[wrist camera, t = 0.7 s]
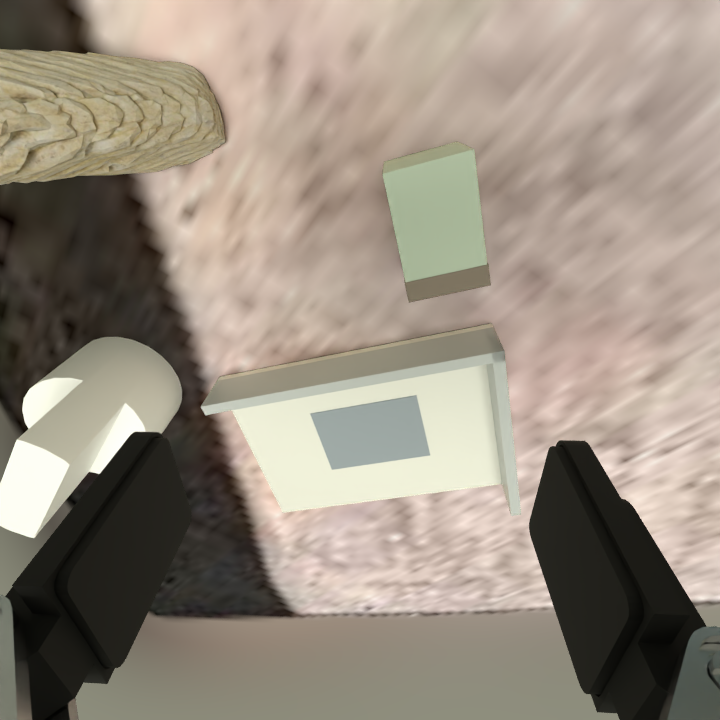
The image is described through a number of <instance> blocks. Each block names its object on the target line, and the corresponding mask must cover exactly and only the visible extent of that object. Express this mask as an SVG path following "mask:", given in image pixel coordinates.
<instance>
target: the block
mask: <svg viewBox="0 0 720 720" xmlns="http://www.w3.org/2000/svg"><path fill="white" fill-rule="evenodd" d="M382 174H383V179H384V184H385V188H386V193H387V198H388V203H389V207H390V212H391V217H392V221H393V226H394V231H395V235H396V240H397V245H398V249H399V254H400V259H401V264H402V268H403V273H404V281H405V287H406V291H407V296H408V301H409V302H414V301H418V300H423V299H428V298H433V297H437V296H442V295H447V294H451V293H456V292H461V291H466V290H470V289H475V288H480V287H484V286H489V285H491V283H490V274H489V265H488V263H487V257H486V249H485V240H484V231H483V222H482V213H481V205H480V196H479V187H478V178H477V170H476V161H475V152H474V149H473V148H470V147H468V146H466V145H464V144H461V143H459V142H454V143H450V144H447V145H443V146H440V147H436V148H432V149H429V150H425V151H421V152H418V153H414V154H410V155H407V156H403V157H399V158H396V159H392V160H388V161H385V162H384V165H383V173H382Z"/></svg>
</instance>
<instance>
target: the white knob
mask: <svg viewBox="0 0 720 720" xmlns="http://www.w3.org/2000/svg"><path fill="white" fill-rule="evenodd" d="M181 401H182V388H181V385H180V381H179V378H178V376H177V375H176V373H175V371H174V370H173V368H172V366H171V365H170V364H169V363H168V362H167V361H166V360H165V359H164V358H163V357H162V356H161V355H160V354H158V353H157V352H155V351H154V350H152V349H151V348H150V347H148V346H146V345H143V344H141V343H139V342H137V341H135V340H131V339H126V338H122V337H103V338H100V339H96V340H93V341H91V342H90V343H88V344H87V345H85V346H84V347H83V348H81V349H80V350H79V351H77V352H76V353H75V354H74V355H72V356H71V357H70V358H68V359H67V360H66V361H65V362H63V363H62V364H61V365H60V366H58V367H57V368H56V369H54V370H53V371H52V372H51V373H49V374H48V375H47V376H45V377H44V378H43V379H42V380H40V381H39V382H38V383H37V384H35V385H34V386H33V387H31V388H30V389H29V391H28V393H27V394H26V396H25V397H24V401H23V408H22V411H23V415H24V420H25V423H26V425H27V427H28V430H27V431H26V432H25V433H24V434H23V435H22V436H20V437H19V438H18V439H17V441H16V443H15V446H14V448H13V451H12V454H11V457H10V459H9V462H8V465H7V467H6V470H5V473H4V475H3V478H2V481H1V483H0V526H2V527H4V528H6V529H8V530H10V531H13V532H16V533H19V534H22V535H25V536H28V537H32V538H35V536H36V535H37V534H38V533H39V531H40V530H41V529H42V528H43V527H44V525H45V524H46V523H47V522H48V521H49V519H50V518H51V517H52V516H53V515H54V513H55V512H56V511H57V510H58V508H59V507H60V506H61V505H62V504H63V503H64V501H65V500H66V499H67V498H68V496H69V495H70V494H71V493H72V492H73V490H74V489H75V488H76V487H77V486H78V484H79V483H80V482H81V481H82V480H83V478H84V477H85V476H86V475H87V473H88V472H94V473H99V474H100V473H101V472H102V470H103V469H104V468H105V467H106V465H107V464H108V463H109V462H110V460H111V459H112V458H113V456H114V455H115V454H116V453H117V451H118V450H119V449H120V448H121V446H122V445H123V444H124V442H125V441H126V440H127V439H128V437H129V436H130V435H131V434H132V433H134V432H159V433H160V434H162V432H163V431H164V429H165V428H166V427H167V425H168V424H169V422H170V421H171V419H172V418H173V417H174V415H175V414H176V412H177V411H178V409H179V406H180V404H181Z"/></svg>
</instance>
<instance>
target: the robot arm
mask: <svg viewBox="0 0 720 720" xmlns="http://www.w3.org/2000/svg"><path fill="white" fill-rule="evenodd" d="M190 522H191V508H190V505H189V502H188V499H187V496H186V493H185V490H184V487H183V484H182V480H181V477H180V474H179V471H178V468H177V465H176V462H175V459H174V456H173V453H172V450H171V446H170V443H169V441H168V439H166V438H163V437H162V435H161V434H160V433H159V432H134V433H132V434H131V435H130V436H129V437H128V439H127V440H126V441H125V442H124V444H123V445H122V446H121V448H120V449H119V450H118V451H117V453H116V454H115V455H114V456H113V458H112V459H111V460H110V462H109V463H108V464H107V465H106V467H105V468H104V469H103V470H102V472H101V473H100V474H99V476H98V477H97V478H96V479H95V481H94V482H93V483H92V484H91V486H90V487H89V488H88V490H87V491H86V492H85V493H84V495H83V496H82V497H81V498H80V500H79V501H78V502H77V503H76V505H75V506H74V507H73V509H72V510H71V511H70V513H69V514H68V515H67V516H66V518H65V519H64V520H63V521H62V523H61V524H60V525H59V526H58V528H57V529H56V530H55V532H54V533H53V534H52V535H51V537H50V538H49V539H48V540H47V542H46V543H45V544H44V546H43V547H42V548H41V549H40V551H39V552H38V553H37V554H36V556H35V557H34V558H33V559H32V561H31V562H30V563H29V564H28V566H27V567H26V568H25V570H24V571H23V572H22V573H21V575H20V576H19V577H18V578H17V580H16V581H15V582H14V584H13V585H12V586H13V587H12V588H11V590H10V591H9V592H8V594H7V595H6V596H3V595H0V720H79V719H78V712H77V706H76V699H75V697H76V695H77V693H78V691H79V689H80V688H81V686H82V684H83V682H85V683H102V684H107V683H108V681H109V679H110V677H111V675H112V673H113V671H114V669H115V668H118V667H120V666H121V665H122V664H123V662H124V661H125V659H126V657H127V655H128V653H129V651H130V649H131V646H132V645H133V643H134V640H135V638H136V636H137V634H138V632H139V630H140V628H141V626H142V624H143V622H144V619H145V617H146V615H147V613H148V611H149V609H150V607H151V605H152V603H153V601H154V598H155V596H156V594H157V592H158V590H159V588H160V586H161V584H162V582H163V580H164V577H165V575H166V573H167V571H168V569H169V567H170V565H171V563H172V561H173V559H174V556H175V554H176V552H177V550H178V548H179V546H180V544H181V542H182V540H183V538H184V535H185V533H186V531H187V529H188V527H189V525H190ZM529 530H530V536H531V539H532V542H533V545H534V548H535V551H536V554H537V557H538V560H539V563H540V566H541V569H542V572H543V575H544V578H545V581H546V584H547V587H548V590H549V593H550V596H551V599H552V602H553V605H554V609H555V612H556V615H557V617H558V620H559V624H560V626H561V630H562V632H563V636H564V639H565V642H566V645H567V648H568V651H569V654H570V656H571V660H572V663H573V666H574V669H575V672H576V675H577V678H578V681H579V683H580V686H581V688H582V690H583V691H584V692H585V693H586V694H591V696H592V698H593V701H594V704H595V707H596V710H597V712H604V713H617V714H618V716H619V719H620V720H720V627H717V626H713V627H707V626H706V625H705V623H704V621H703V620H702V618H701V616H700V615H699V613H698V612H697V610H696V608H695V607H694V605H693V603H692V602H691V600H690V598H689V597H688V595H687V594H686V592H685V590H684V589H683V587H682V585H681V584H680V582H679V581H678V579H677V577H676V576H675V574H674V572H673V571H672V569H671V567H670V566H669V564H668V563H667V561H666V559H665V558H664V556H663V554H662V553H661V551H660V550H659V548H658V546H657V545H656V543H655V541H654V540H653V538H652V536H651V535H650V533H649V532H648V530H647V528H646V527H645V525H644V523H643V522H642V520H641V519H640V517H639V515H638V514H637V512H636V510H635V509H634V508H633V506H632V505H631V504H630V503H629V502H628V501H626V500H625V499H621V498H620V496H619V494H618V492H617V491H616V489H615V487H614V486H613V484H612V482H611V481H610V479H609V477H608V476H607V474H606V472H605V471H604V469H603V467H602V466H601V464H600V462H599V461H598V459H597V457H596V455H595V454H594V452H593V450H592V449H591V447H590V445H589V444H588V443H587V442H585V441H563V440H561V441H559V442H558V443H557V445H556V447H555V446H552V447H550V448H549V451H548V454H547V458H546V462H545V465H544V469H543V473H542V477H541V480H540V484H539V488H538V492H537V495H536V499H535V503H534V507H533V510H532V514H531V518H530V523H529Z"/></svg>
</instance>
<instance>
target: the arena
mask: <svg viewBox="0 0 720 720" xmlns="http://www.w3.org/2000/svg"><path fill="white" fill-rule="evenodd" d="M201 408H202V410H203V412H204V414H205V415H209V414H214V413H220V412H225V411H231V410H232V412H233V414H234V416H235V418H236V420H237V422H238V424H239V426H240V428H241V430H242V432H243V434H244V436H245V438H246V440H247V442H248V444H249V446H250V448H251V450H252V452H253V454H254V456H255V458H256V460H257V462H258V464H259V466H260V468H261V470H262V472H263V474H264V476H265V478H266V480H267V482H268V484H269V486H270V488H271V490H272V492H273V494H274V496H275V498H276V500H277V502H278V504H279V506H280V508H281V510H282V512H283V513H284V512H292V511H300V510H307V509H315V508H322V507H330V506H338V505H345V504H353V503H361V502H368V501H376V500H384V499H391V498H399V497H406V496H414V495H422V494H429V493H437V492H445V491H452V490H460V489H467V488H475V487H483V486H490V485H498V484H502V486H503V490H504V493H505V496H506V500H507V503H508V506H509V510H510V513H511V516H513V515H521V508H520V498H519V489H518V479H517V469H516V460H515V450H514V440H513V430H512V421H511V411H510V401H509V392H508V382H507V372H506V362H505V353H504V349H503V347H502V345H501V343H500V341H499V338H498V336H497V334H496V332H495V330H494V328H493V326H492V323H491V324H486V325H481V326H476V327H471V328H466V329H461V330H456V331H451V332H445V333H440V334H435V335H430V336H425V337H420V338H415V339H410V340H405V341H400V342H395V343H389V344H384V345H379V346H374V347H369V348H364V349H359V350H354V351H349V352H344V353H339V354H333V355H328V356H323V357H318V358H313V359H308V360H303V361H298V362H293V363H288V364H283V365H277V366H272V367H267V368H262V369H257V370H252V371H247V372H242V373H237V374H232V375H227V376H221V377H219V379H218V380H217V382H216V383H215V385H214V387H213V388H212V390H211V391H210V393H209V394H208V396H207V398H206V399H205V401H204V402H203V404H202V406H201Z"/></svg>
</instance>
